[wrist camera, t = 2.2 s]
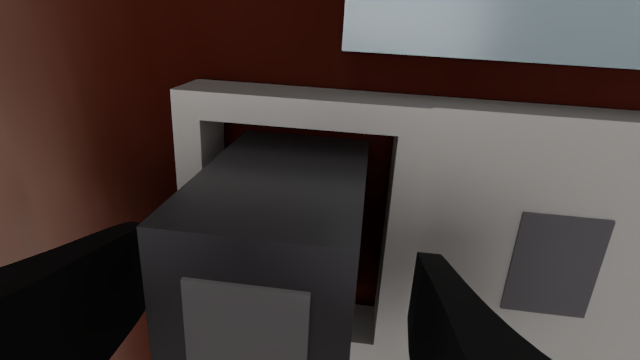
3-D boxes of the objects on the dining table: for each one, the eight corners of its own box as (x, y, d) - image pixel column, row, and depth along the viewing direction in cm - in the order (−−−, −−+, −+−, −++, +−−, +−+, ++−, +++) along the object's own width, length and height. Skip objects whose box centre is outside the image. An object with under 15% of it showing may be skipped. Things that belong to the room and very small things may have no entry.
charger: (369, 140, 14) (359, 253, 7) (355, 285, 16) (338, 478, 9) (246, 130, 14) (133, 229, 8) (248, 273, 16) (158, 449, 10)
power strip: (849, 126, 12) (934, 146, 10) (727, 368, 15) (776, 418, 13) (197, 79, 14) (169, 89, 12) (209, 304, 17) (188, 339, 15)
